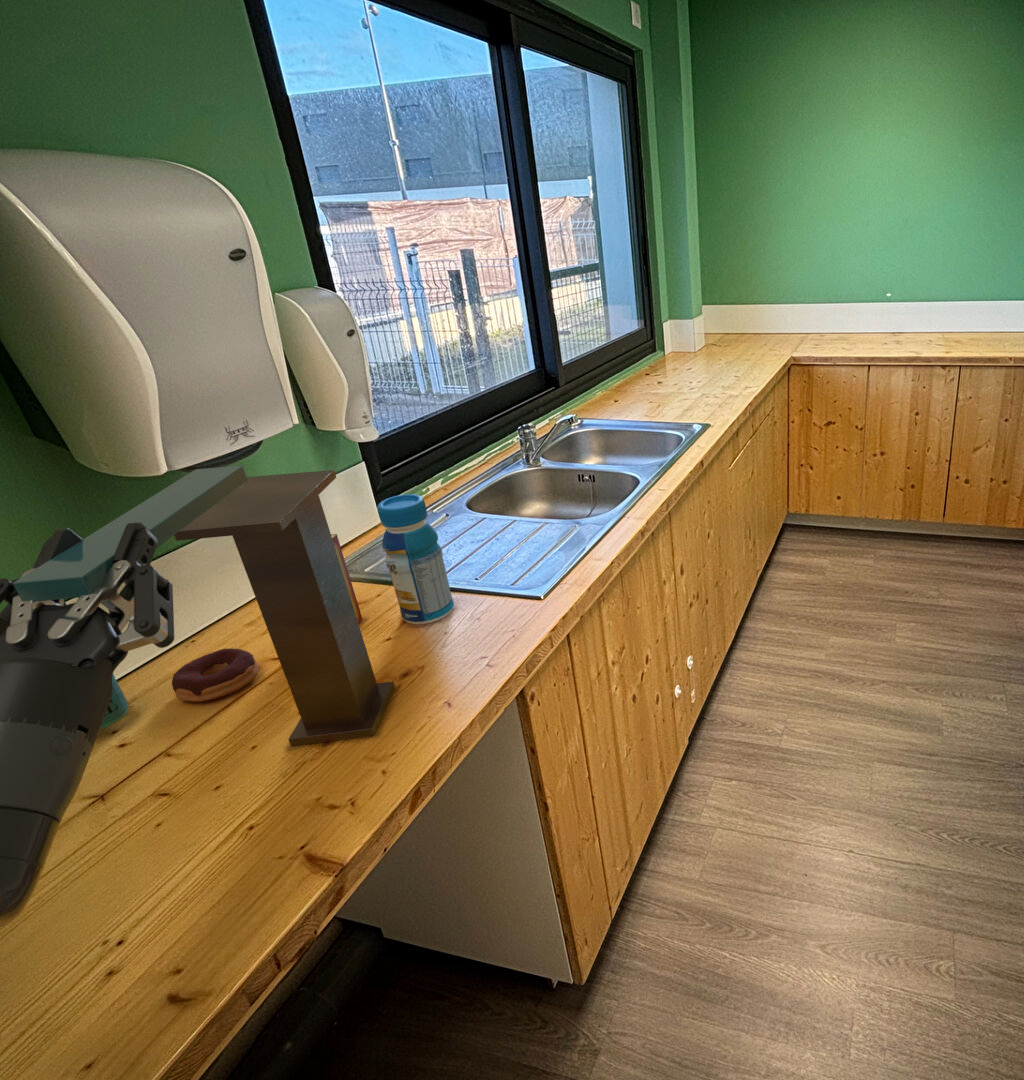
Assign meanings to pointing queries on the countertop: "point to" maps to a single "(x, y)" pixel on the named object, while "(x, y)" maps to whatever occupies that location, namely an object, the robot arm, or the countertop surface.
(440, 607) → the beverage bottle
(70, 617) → the robot arm
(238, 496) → the stand
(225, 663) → the donut
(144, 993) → the countertop surface
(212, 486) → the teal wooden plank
